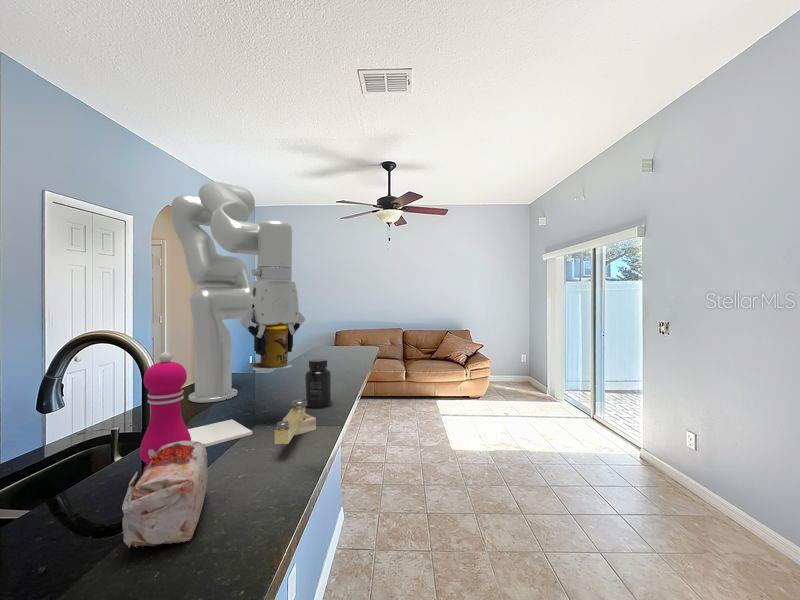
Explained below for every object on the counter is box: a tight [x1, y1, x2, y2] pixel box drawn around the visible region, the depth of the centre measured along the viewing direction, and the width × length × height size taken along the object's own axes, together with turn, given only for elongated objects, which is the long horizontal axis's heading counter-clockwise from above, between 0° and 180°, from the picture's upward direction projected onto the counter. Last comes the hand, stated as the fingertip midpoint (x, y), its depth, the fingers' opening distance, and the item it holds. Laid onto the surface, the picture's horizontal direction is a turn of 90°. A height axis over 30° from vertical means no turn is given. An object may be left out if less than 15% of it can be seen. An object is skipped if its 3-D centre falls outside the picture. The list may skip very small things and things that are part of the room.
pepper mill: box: [139, 351, 191, 472], centre depth 62 cm, size 7×7×20 cm
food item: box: [121, 441, 209, 548], centre depth 49 cm, size 14×8×10 cm, turn 22°
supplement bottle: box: [304, 358, 332, 409], centre depth 101 cm, size 7×7×12 cm
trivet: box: [187, 419, 253, 448], centre depth 80 cm, size 11×11×1 cm
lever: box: [274, 398, 307, 445], centre depth 76 cm, size 3×17×3 cm, turn 3°
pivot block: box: [293, 413, 317, 436], centre depth 82 cm, size 5×5×2 cm
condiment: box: [247, 322, 293, 371], centre depth 88 cm, size 7×8×12 cm
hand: (274, 352), depth 88 cm, fingers closed on condiment, 6 cm apart
